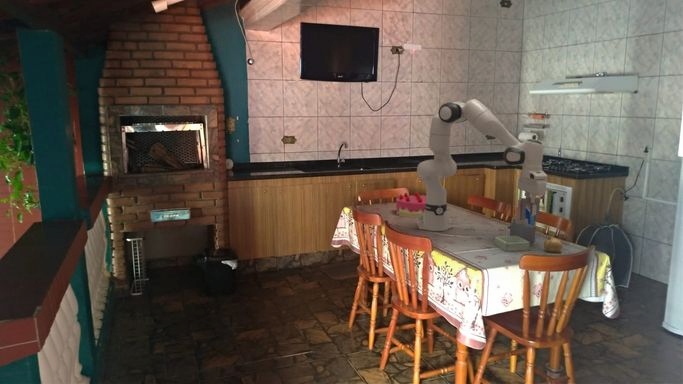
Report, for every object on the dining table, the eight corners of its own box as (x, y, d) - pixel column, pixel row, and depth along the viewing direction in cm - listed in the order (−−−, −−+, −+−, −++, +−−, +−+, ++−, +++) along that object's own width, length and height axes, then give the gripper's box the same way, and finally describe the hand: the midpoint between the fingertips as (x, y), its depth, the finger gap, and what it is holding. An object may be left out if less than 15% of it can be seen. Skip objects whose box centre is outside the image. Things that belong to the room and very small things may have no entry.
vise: (507, 238, 264) (508, 216, 262) (521, 237, 265) (522, 216, 263) (520, 245, 250) (521, 222, 248) (535, 244, 252) (536, 222, 250)
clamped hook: (516, 224, 259) (518, 199, 257) (520, 224, 260) (521, 199, 257) (531, 231, 246) (532, 204, 243) (534, 231, 246) (536, 204, 244)
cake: (394, 209, 339) (394, 190, 337) (436, 209, 338) (437, 190, 336) (397, 218, 311) (397, 198, 309) (443, 218, 310) (444, 198, 308)
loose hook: (519, 219, 249) (520, 198, 247) (536, 218, 251) (537, 197, 249) (521, 220, 247) (522, 198, 245) (538, 219, 249) (540, 198, 247)
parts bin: (493, 244, 252) (494, 236, 252) (516, 243, 254) (516, 235, 254) (506, 251, 240) (506, 243, 239) (529, 250, 242) (530, 242, 241)
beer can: (513, 235, 270) (515, 205, 268) (525, 233, 274) (527, 204, 271) (525, 238, 263) (527, 208, 260) (537, 236, 266) (539, 207, 264)
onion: (557, 249, 244) (558, 234, 243) (564, 253, 237) (566, 239, 235) (540, 249, 244) (541, 234, 243) (548, 254, 236) (548, 239, 235)
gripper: (515, 170, 255) (513, 198, 257) (537, 176, 235) (535, 205, 237) (526, 170, 256) (525, 197, 258) (549, 176, 236) (547, 205, 238)
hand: (530, 201), depth 247 cm, fingers closed on loose hook, 2 cm apart
